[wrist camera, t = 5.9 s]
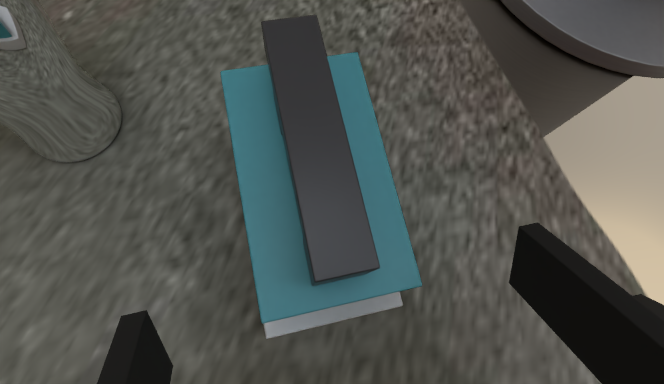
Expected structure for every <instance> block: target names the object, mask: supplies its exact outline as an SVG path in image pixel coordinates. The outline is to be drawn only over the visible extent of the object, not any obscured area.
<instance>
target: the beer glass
mask: <svg viewBox="0 0 664 384" xmlns="http://www.w3.org/2000/svg"><path fill="white" fill-rule="evenodd" d="M121 120H122V112H121V107H120V104H119V102H118V100H117V98H116V97H115V95H114V94H113V93H112V92H111V91H110V90H109V89H108V88H107V87H105V86H104V85H103V84H101V83H100V82H98V81H97V80H95V79H94V78H93V77H91V76H90V75H88V74H87V73H86V72H85V71H84V70H83V69H82V68H81V67H80V66H79V65H78V64H77V62H76V61H75V60H74V58H73V57H72V55H71V54H70V52H69V50H68V49H67V47H66V45H65V44H64V42H63V40H62V38H61V37H60V35H59V33H58V31H57V30H56V28H55V26H54V25H53V23H52V21H51V20H50V18H49V16H48V15H47V13H46V11H45V10H44V8H43V6H42V5H41V3H40V2H39V0H0V124H1V125H3V126H5V127H7V128H8V129H10V130H11V131H13V132H14V133H15V134H17V135H18V136H19V137H20V138H21V139H22V140H23V141H24V142H25V143H26V144H27V145H28V146H29V147H30V148H31V149H32V150H33V151H35V152H36V153H37V154H39V155H40V156H42V157H44V158H46V159H49V160H52V161H57V162H65V163H69V162H78V161H82V160H86V159H88V158H91V157H93V156H95V155H97V154H98V153H100V152H101V151H103V150H104V149H105V148H106V147H108V146H109V145H110V143H111V142H112V141H113V140H114V138H115V137H116V135H117V133H118V131H119V129H120V125H121Z"/></svg>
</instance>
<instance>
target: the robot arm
mask: <svg viewBox="0 0 664 384" xmlns="http://www.w3.org/2000/svg"><path fill="white" fill-rule="evenodd" d="M509 283H510V284H511V286H512V287H513V288H514V289H515V290H516V291H517V292H518V293H519V294H520V295H521V296H522V297H523V299H524V300H525V301H526V302H527V303H528V304H529V305H530V306H531V307H532V308H533V309H534V310H535V312H536V313H537V314H538V315H539V316H540V317H541V318H542V319H543V320H544V321H545V322H546V323H547V325H548V326H549V327H550V328H551V329H552V330H553V331H554V332H555V333H556V334H557V335H558V336H559V338H560V339H561V340H562V341H563V342H564V343H565V344H566V345H567V346H568V347H569V348H570V349H571V351H572V352H573V353H574V354H575V355H576V356H577V357H578V358H579V359H580V360H581V361H582V362H583V364H584V365H585V366H586V367H587V368H588V369H589V370H590V371H591V372H592V373H593V374H594V375H595V377H596V378H597V379H598V380H599V381H600V382H601V383H602V384H664V305H662V304H660V303H658V302H656V301H654V300H652V299H650V298H648V297H646V296H644V295H642V294H639V295H635V296H632V295H630V294H629V293H628V292H626V291H625V290H624V289H623V288H621V287H620V286H619V285H617V284H616V283H615V282H614V281H612V280H611V279H610V278H608V277H607V276H606V275H605V274H603V273H602V272H601V271H599V270H598V269H597V268H596V267H594V266H593V265H592V264H590V263H589V262H588V261H587V260H585V259H584V258H583V257H581V256H580V255H579V254H578V253H576V252H575V251H574V250H572V249H571V248H570V247H569V246H567V245H566V244H565V243H563V242H562V241H561V240H560V239H558V238H557V237H556V236H554V235H553V234H552V233H551V232H549V231H548V230H547V229H545V228H544V227H543V226H542V225H540V224H539V223H538V222H537V223H533V224H529V225H524V226H520V227H519V229H518V235H517V240H516V246H515V252H514V257H513V263H512V268H511V274H510V280H509ZM172 369H173V365H172V363H171V360H170V358H169V356H168V354H167V352H166V350H165V348H164V346H163V344H162V342H161V340H160V337H159V335H158V333H157V331H156V329H155V327H154V325H153V323H152V321H151V319H150V316H149V314H148V312H147V310H146V311H141V312H137V313H132V314H128V315H124V316H121V318H120V321H119V324H118V326H117V329H116V332H115V335H114V338H113V340H112V343H111V346H110V349H109V352H108V354H107V357H106V360H105V363H104V366H103V368H102V371H101V374H100V377H99V380H98V382H97V384H170V381H171V375H172Z"/></svg>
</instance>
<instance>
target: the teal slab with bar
mask: <svg viewBox="0 0 664 384" xmlns="http://www.w3.org/2000/svg"><path fill="white" fill-rule="evenodd" d="M261 25H262V32H263V39H264V47H265V52H266V57H267V62H268V65H261V66H254V67H247V68H240V69H232V70H225V71H221V79H222V86H223V92H224V98H225V104H226V110H227V116H228V122H229V128H230V134H231V141H232V147H233V153H234V159H235V165H236V171H237V177H238V183H239V190H240V196H241V202H242V208H243V214H244V220H245V226H246V232H247V238H248V245H249V251H250V257H251V263H252V269H253V275H254V281H255V287H256V293H257V300H258V306H259V312H260V318H261V323H263V324H264V330H265V336H266V338H267V339H269V338H273V337H277V336H281V335H285V334H289V333H294V332H298V331H302V330H306V329H310V328H314V327H318V326H323V325H327V324H331V323H335V322H339V321H343V320H347V319H351V318H356V317H360V316H364V315H368V314H372V313H376V312H380V311H385V310H389V309H393V308H397V307H401V306H403V303H402V299H401V295H400V292H399V291H404V290H408V289H412V288H416V287H421V286H422V281H421V278H420V274H419V271H418V267H417V263H416V260H415V256H414V253H413V249H412V245H411V242H410V238H409V235H408V231H407V227H406V224H405V220H404V217H403V213H402V210H401V206H400V202H399V199H398V195H397V192H396V188H395V184H394V181H393V177H392V174H391V170H390V167H389V163H388V159H387V156H386V152H385V149H384V145H383V141H382V138H381V134H380V131H379V127H378V123H377V120H376V116H375V113H374V109H373V106H372V102H371V98H370V95H369V91H368V88H367V84H366V80H365V77H364V73H363V70H362V66H361V63H360V59H359V55H358V53H357V52H354V53H347V54H340V55H332V56H327V54H326V50H325V46H324V42H323V38H322V34H321V30H320V26H319V23H318V19H317V15H308V16H300V17H292V18H284V19H276V20H268V21H262V22H261Z"/></svg>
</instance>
